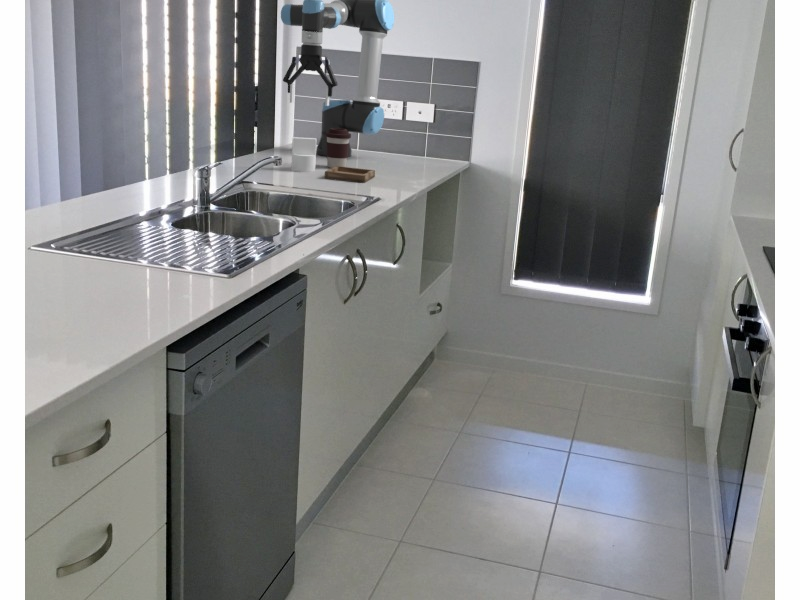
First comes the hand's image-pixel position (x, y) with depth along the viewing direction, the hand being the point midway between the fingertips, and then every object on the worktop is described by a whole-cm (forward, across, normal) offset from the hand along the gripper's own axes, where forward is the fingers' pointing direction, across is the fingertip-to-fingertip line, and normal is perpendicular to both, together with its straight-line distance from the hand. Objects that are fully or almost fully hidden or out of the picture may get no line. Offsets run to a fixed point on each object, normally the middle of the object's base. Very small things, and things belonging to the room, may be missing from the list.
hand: (309, 104), depth 316 cm
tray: (+25, +18, -6) cm, 31 cm away
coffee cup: (+25, +8, +14) cm, 30 cm away
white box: (+25, -1, 0) cm, 25 cm away
